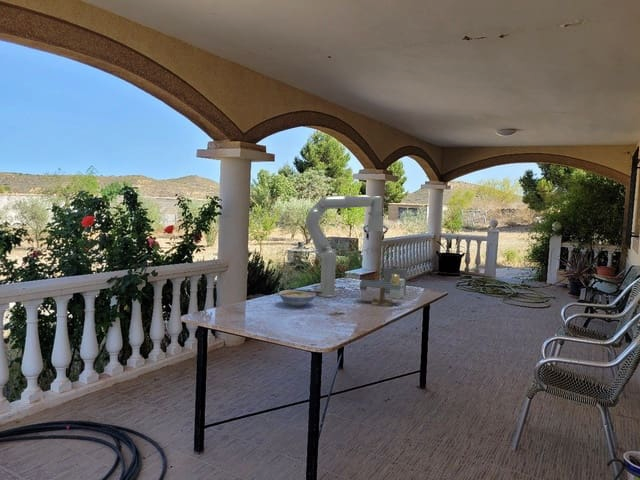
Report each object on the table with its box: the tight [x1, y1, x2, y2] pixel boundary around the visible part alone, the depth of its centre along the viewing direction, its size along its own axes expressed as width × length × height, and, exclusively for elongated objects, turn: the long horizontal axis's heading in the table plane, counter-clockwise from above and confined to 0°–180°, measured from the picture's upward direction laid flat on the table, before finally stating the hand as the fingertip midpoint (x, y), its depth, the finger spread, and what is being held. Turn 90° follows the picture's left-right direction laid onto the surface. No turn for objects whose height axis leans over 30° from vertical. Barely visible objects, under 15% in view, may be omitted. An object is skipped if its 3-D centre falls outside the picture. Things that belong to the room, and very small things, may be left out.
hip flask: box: [383, 264, 408, 295], centre depth 326 cm, size 16×4×20 cm, turn 69°
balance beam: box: [359, 279, 401, 291], centre depth 292 cm, size 25×10×5 cm, turn 80°
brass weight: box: [391, 274, 400, 285], centre depth 290 cm, size 5×5×7 cm
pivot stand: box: [371, 287, 393, 308], centre depth 292 cm, size 12×18×11 cm, turn 170°
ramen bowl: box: [278, 288, 322, 307], centre depth 279 cm, size 25×23×8 cm
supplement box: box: [389, 279, 405, 300], centre depth 311 cm, size 7×7×13 cm
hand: (375, 239), depth 311 cm, fingers open, 9 cm apart
